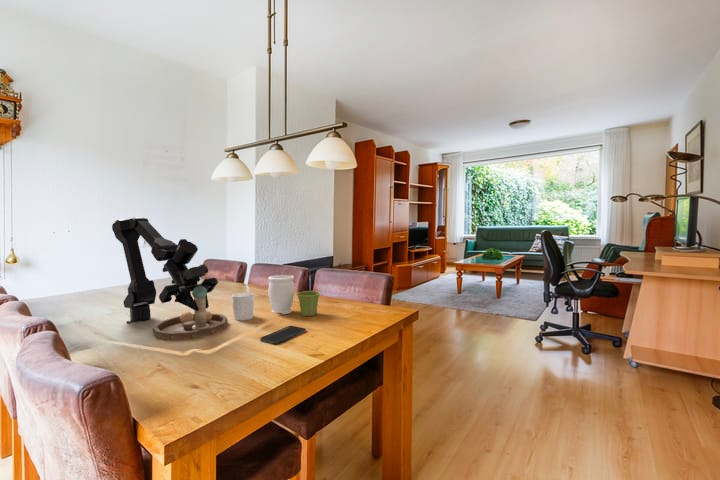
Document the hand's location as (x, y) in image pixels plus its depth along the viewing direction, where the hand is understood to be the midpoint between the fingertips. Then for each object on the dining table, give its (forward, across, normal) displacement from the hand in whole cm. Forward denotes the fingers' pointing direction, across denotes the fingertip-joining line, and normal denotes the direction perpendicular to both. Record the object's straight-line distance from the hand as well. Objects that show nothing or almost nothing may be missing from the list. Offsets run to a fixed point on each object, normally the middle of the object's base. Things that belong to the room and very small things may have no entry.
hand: (202, 308), depth 111 cm
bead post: (+4, 0, +6) cm, 7 cm away
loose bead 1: (-4, +4, +16) cm, 17 cm away
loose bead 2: (-1, +8, +12) cm, 15 cm away
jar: (+10, +34, +4) cm, 35 cm away
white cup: (+6, +19, +8) cm, 21 cm away
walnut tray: (+1, +2, +12) cm, 12 cm away
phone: (+24, +12, -10) cm, 28 cm away
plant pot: (+18, +36, -5) cm, 41 cm away
